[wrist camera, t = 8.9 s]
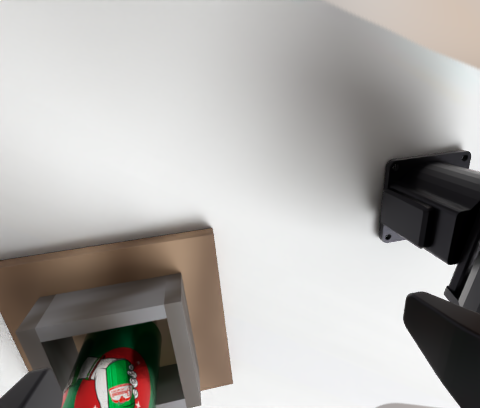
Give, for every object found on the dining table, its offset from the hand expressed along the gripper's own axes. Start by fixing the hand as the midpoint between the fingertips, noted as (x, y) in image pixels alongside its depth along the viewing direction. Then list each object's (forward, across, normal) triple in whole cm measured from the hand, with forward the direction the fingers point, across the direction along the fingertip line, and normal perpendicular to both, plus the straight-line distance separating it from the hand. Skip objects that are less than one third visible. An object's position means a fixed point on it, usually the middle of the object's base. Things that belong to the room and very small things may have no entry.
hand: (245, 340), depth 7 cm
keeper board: (+13, +7, +10) cm, 18 cm away
